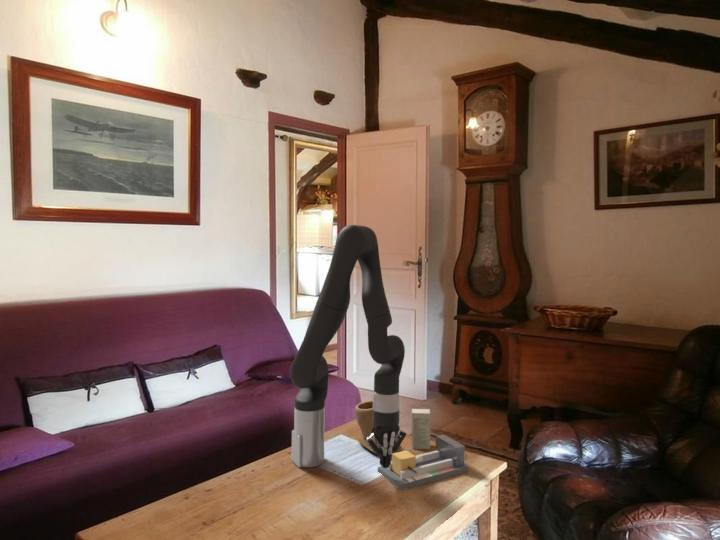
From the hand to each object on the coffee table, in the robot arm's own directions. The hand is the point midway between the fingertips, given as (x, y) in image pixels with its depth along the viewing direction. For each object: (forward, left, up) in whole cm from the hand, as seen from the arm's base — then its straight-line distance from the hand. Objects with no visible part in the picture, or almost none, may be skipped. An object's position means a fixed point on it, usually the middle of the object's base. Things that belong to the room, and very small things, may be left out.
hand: (385, 466), depth 148 cm
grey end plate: (+23, 0, -3) cm, 24 cm away
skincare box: (+23, +15, -5) cm, 28 cm away
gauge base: (+13, 0, -4) cm, 14 cm away
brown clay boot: (+9, +21, -5) cm, 24 cm away
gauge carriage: (+8, -2, -3) cm, 9 cm away
